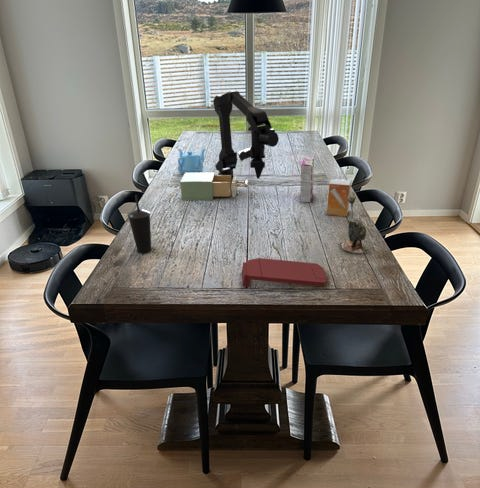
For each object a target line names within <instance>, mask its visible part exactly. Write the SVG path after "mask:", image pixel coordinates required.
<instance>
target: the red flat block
mask: <svg viewBox="0 0 480 488" xmlns="http://www.w3.org/2000/svg"><path fill="white" fill-rule="evenodd" d="M241 267H242V268H241V274H240V275H241V283H242V287H245V288H250V286H251V281H259V282H260V281H261V282H270V283H281V284H293V285H302V286H315V287H325V286H326V284H327V283H328V276H327V274H326V271H325V270H324V267H323V266H321V265H320V264H319V263H316V262H305V261H294V260H283V259H275V258H264V257H262V258H261V257H255V258H251V259H247V260H246V261H245V262H244V261H243V262H242V266H241Z"/></svg>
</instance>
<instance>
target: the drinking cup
mask: <svg viewBox="0 0 480 488" xmlns="http://www.w3.org/2000/svg"><path fill="white" fill-rule="evenodd" d="M134 198H135V204H136V209H133V210H132V211H129V212H128V213H127V216H126V217H127V218H128V220H129V225H130V229H131V232H132V236H133V240H134V244H135V247H136V251H137V253H139V254H148V253H150V252H151V251H152V234H151V233H152V232H151V211H150V210H148V209H143V208H140V204H139V199H138V195H137V194H135V195H134Z"/></svg>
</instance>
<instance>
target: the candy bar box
mask: <svg viewBox="0 0 480 488" xmlns="http://www.w3.org/2000/svg"><path fill="white" fill-rule="evenodd" d="M314 170H315V157H303V159H302V162H301V165H300V194H299V195H300V198H299V199H300V200H299V202H300V203H312V199H313V194H314V193H313V191H314V174H315V173H314Z"/></svg>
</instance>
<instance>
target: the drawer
mask: <svg viewBox="0 0 480 488" xmlns="http://www.w3.org/2000/svg"><path fill="white" fill-rule="evenodd" d="M226 181H227V182H226ZM248 186H249V180H248V179H246V180H237V173H236V174H234V173H233V180H232V183H231V175H218V174H215V175H214V178H213V181H212V190H213V196H214V197H231V196H232V198H236V195H237V190H238V187H244V188H248ZM231 194H232V195H231Z"/></svg>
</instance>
